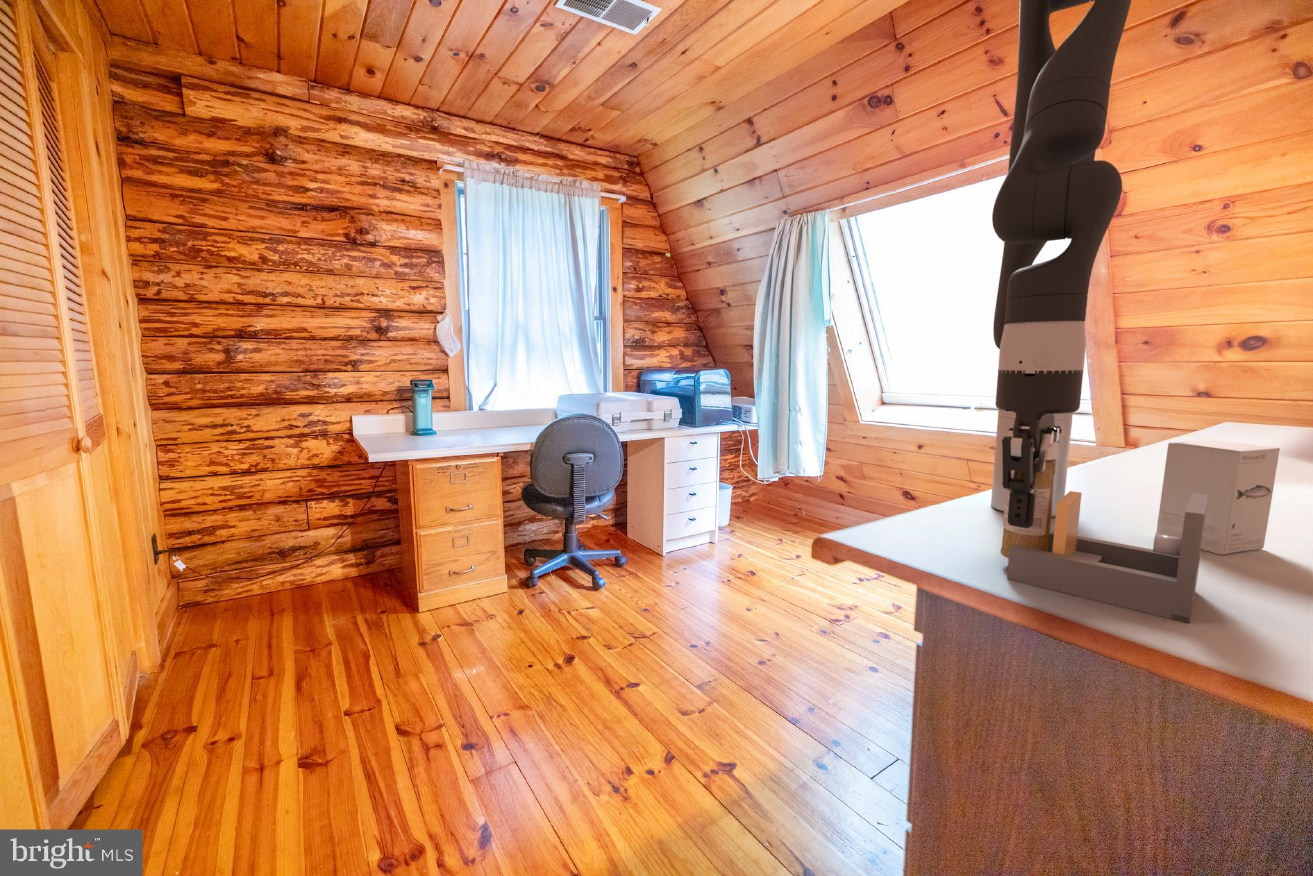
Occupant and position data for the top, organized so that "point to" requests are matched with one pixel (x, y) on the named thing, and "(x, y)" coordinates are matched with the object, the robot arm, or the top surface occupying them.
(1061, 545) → the block
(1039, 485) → the sprinkles bottle
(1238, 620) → the top surface
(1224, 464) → the supplement box
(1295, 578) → the top surface
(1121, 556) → the lane
